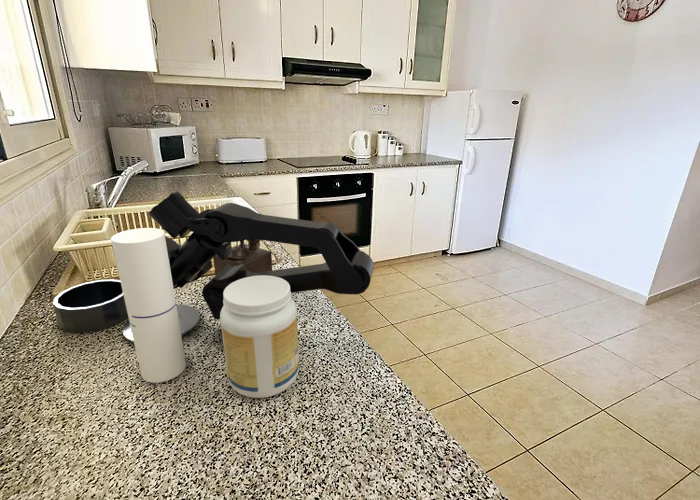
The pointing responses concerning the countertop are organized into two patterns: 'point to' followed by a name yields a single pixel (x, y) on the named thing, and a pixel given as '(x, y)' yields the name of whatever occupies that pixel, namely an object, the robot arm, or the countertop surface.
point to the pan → (91, 306)
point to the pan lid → (186, 320)
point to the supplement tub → (260, 335)
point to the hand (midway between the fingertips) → (153, 298)
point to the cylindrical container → (150, 302)
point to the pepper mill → (246, 258)
